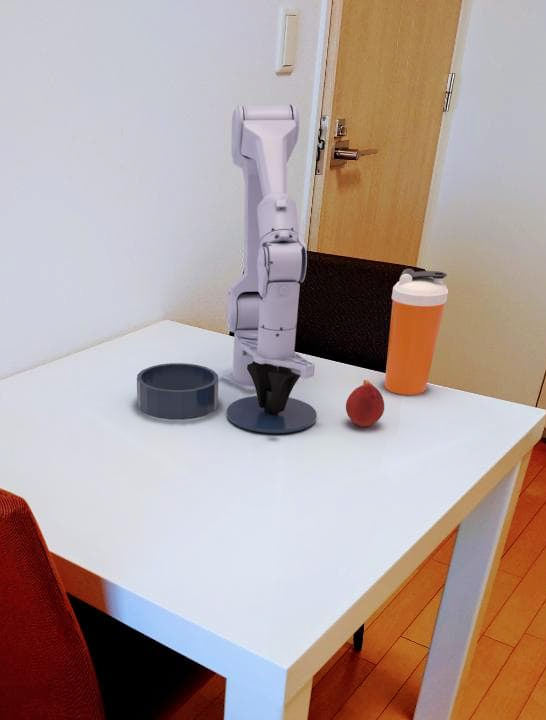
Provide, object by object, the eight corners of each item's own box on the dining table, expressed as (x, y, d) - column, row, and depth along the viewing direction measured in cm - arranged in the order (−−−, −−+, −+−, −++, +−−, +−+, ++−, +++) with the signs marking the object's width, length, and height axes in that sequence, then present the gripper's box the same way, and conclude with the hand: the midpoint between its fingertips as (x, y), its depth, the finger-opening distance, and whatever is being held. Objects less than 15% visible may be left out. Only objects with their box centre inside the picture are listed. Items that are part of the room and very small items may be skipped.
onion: (378, 421, 130) (385, 374, 126) (383, 436, 125) (390, 387, 121) (341, 420, 131) (347, 373, 126) (345, 435, 126) (351, 386, 122)
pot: (186, 386, 144) (186, 358, 141) (233, 410, 134) (234, 380, 132) (122, 403, 137) (121, 373, 135) (167, 429, 128) (167, 397, 125)
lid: (275, 395, 139) (277, 367, 136) (335, 422, 129) (338, 393, 126) (208, 413, 132) (209, 385, 129) (266, 444, 122) (268, 414, 119)
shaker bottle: (432, 399, 138) (454, 279, 128) (379, 395, 140) (396, 277, 129) (429, 380, 146) (448, 267, 135) (378, 377, 147) (394, 264, 137)
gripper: (225, 319, 125) (222, 401, 132) (294, 341, 115) (287, 429, 123) (257, 310, 129) (253, 391, 136) (327, 332, 119) (318, 417, 126)
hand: (271, 408), depth 130 cm, fingers closed on lid, 2 cm apart
